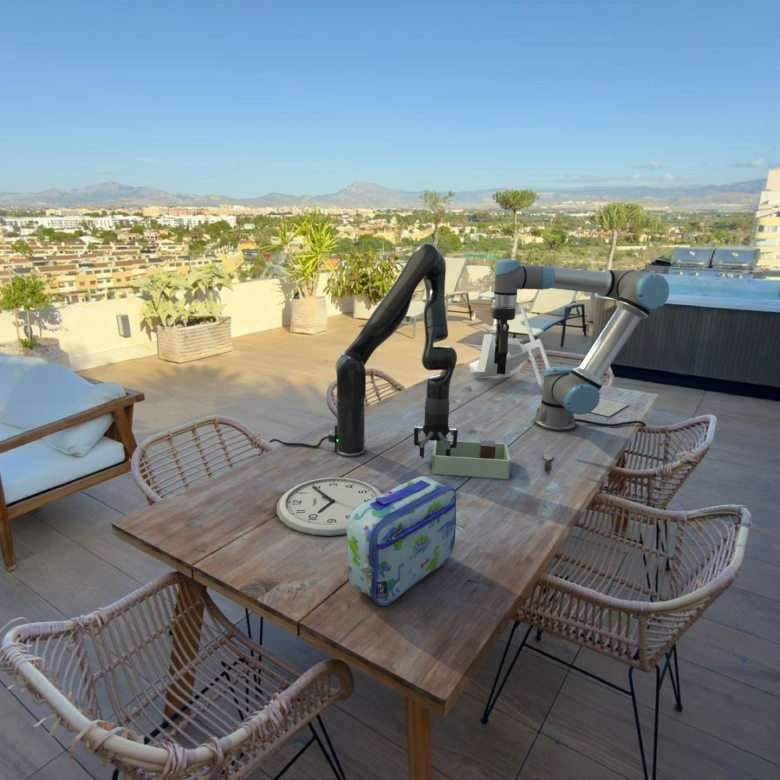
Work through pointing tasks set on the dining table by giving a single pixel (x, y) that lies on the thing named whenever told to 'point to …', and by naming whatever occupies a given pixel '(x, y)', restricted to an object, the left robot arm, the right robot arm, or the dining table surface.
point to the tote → (470, 460)
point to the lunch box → (400, 538)
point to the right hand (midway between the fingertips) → (499, 368)
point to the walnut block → (487, 449)
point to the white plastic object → (509, 355)
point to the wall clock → (324, 504)
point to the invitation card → (608, 407)
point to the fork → (547, 459)
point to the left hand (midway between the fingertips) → (434, 458)
